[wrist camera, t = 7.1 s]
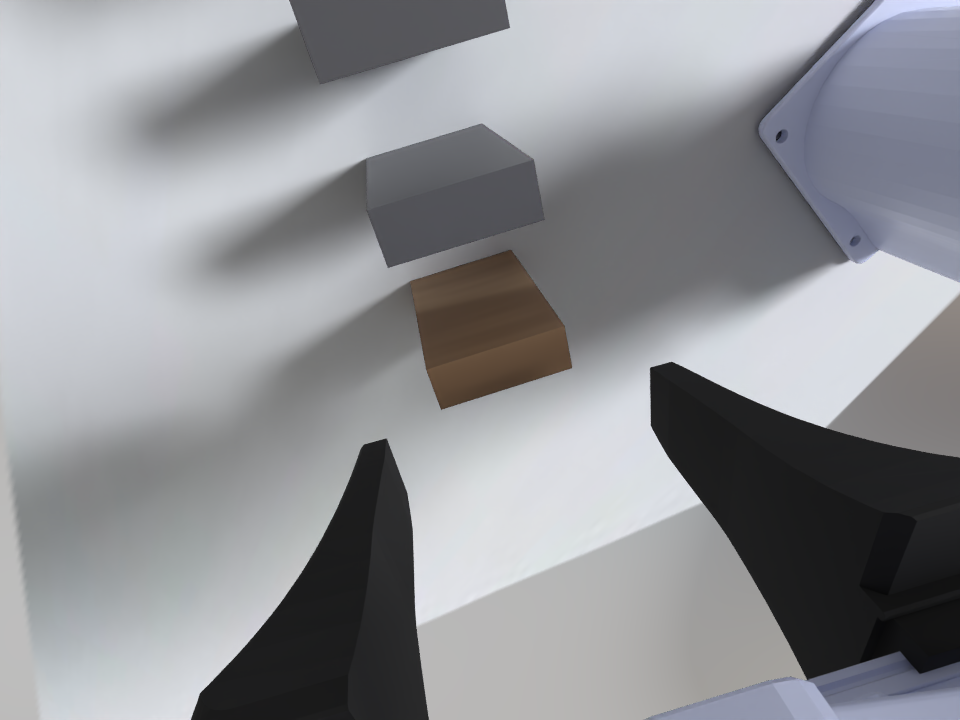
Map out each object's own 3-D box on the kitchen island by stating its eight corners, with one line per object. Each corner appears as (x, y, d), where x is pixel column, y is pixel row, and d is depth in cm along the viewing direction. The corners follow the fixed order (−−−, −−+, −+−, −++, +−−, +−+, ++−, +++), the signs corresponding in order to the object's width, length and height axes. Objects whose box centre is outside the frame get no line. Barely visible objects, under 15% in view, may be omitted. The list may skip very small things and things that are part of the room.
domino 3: (518, 283, 23) (572, 368, 17) (421, 314, 23) (441, 409, 17) (511, 249, 22) (564, 326, 16) (410, 281, 22) (426, 369, 16)
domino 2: (492, 167, 20) (544, 220, 14) (381, 201, 20) (387, 267, 14) (481, 123, 19) (533, 159, 13) (366, 158, 19) (366, 210, 13)
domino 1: (461, 32, 18) (510, 27, 12) (335, 70, 17) (320, 84, 12) (448, -25, 17) (493, -61, 11) (316, 14, 17) (288, -2, 11)
